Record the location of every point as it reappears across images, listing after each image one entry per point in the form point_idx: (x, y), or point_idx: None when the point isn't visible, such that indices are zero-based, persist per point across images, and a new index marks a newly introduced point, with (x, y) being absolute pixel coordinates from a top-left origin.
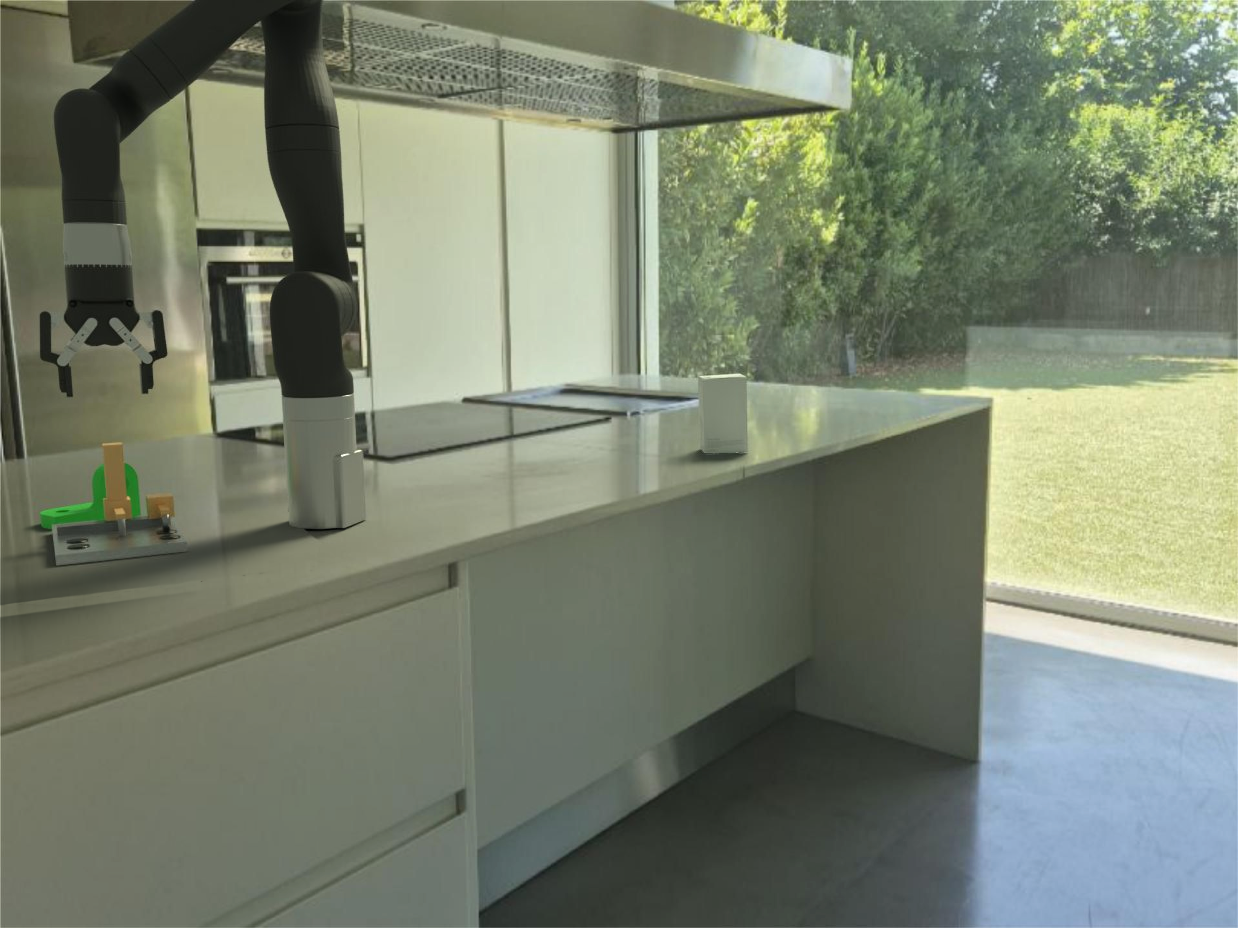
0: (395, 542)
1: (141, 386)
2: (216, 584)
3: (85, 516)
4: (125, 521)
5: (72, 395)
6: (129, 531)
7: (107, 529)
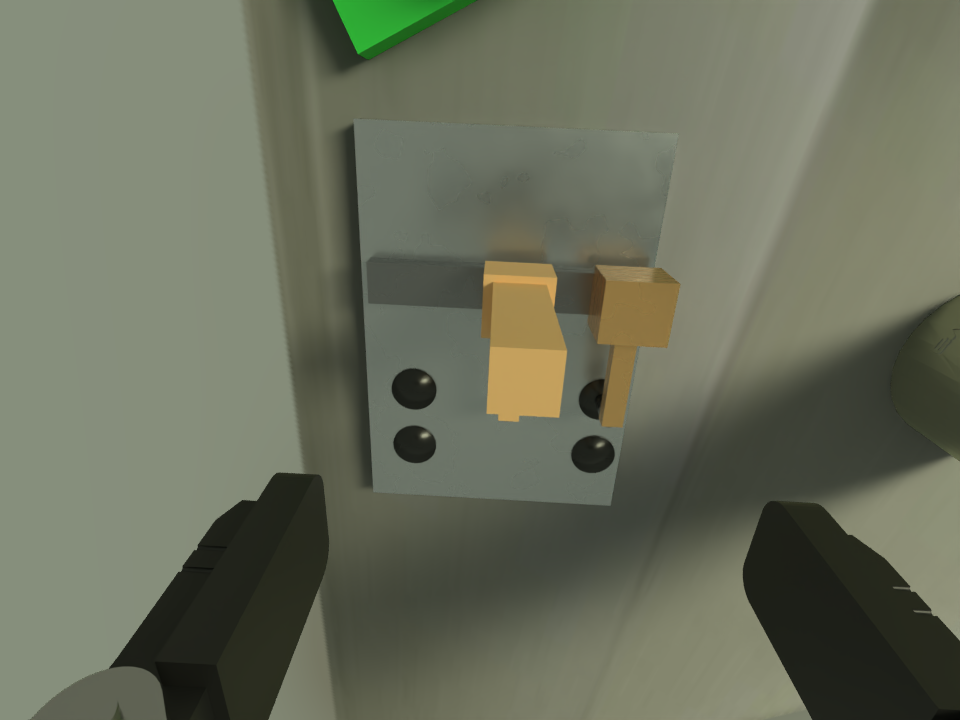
0: (935, 607)
1: (779, 572)
2: (581, 685)
3: (450, 7)
4: None
5: (324, 560)
6: None
7: None
